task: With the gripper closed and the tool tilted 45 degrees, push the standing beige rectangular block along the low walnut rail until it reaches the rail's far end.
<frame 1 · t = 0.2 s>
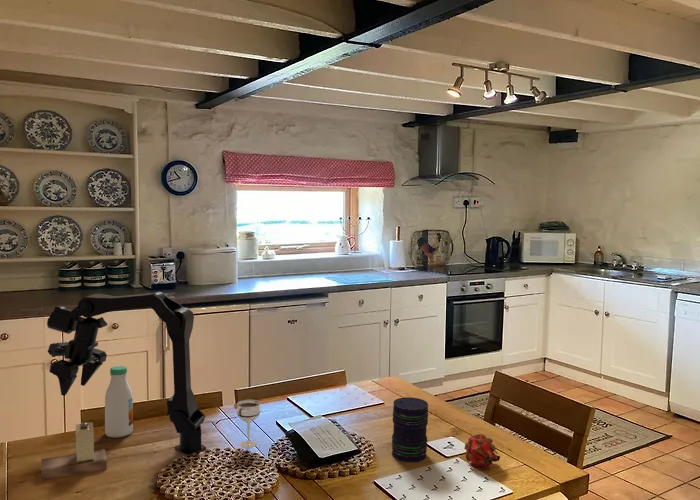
hand: (73, 390, 164), 15 cm above the table, tool pointing down, fingers open, 9 cm apart
beige rectangular block: (84, 440, 150), point 7 cm above the table, slide at 0.0 cm
milk bottle: (119, 433, 172), on the table
wineglass: (248, 444, 167), on the table
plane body: (74, 468, 149), on the table
dark blue cylinder: (408, 455, 162), on the table
dragon fruit: (480, 465, 157), on the table
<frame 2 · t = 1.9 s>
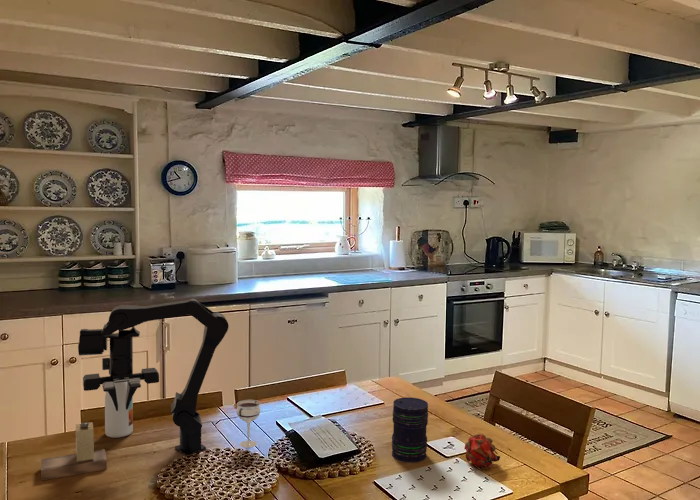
hand: (121, 409, 156), 13 cm above the table, tool pointing down, fingers closed
nothing on the table moved.
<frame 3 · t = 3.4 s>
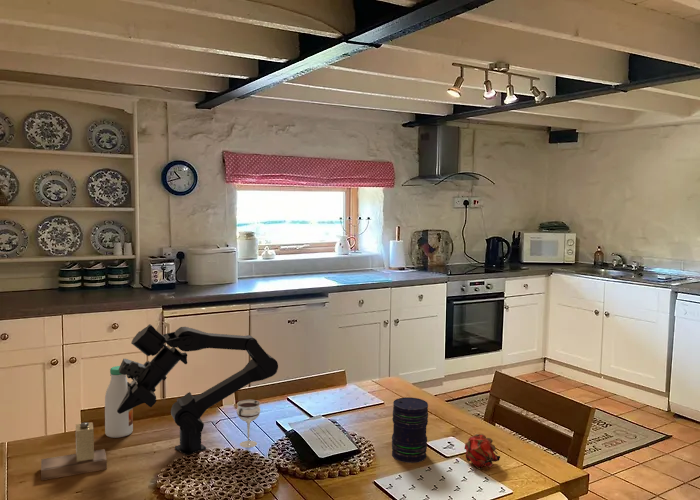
hand: (118, 412, 153), 13 cm above the table, tool tilted 45°, fingers closed
nothing on the table moved.
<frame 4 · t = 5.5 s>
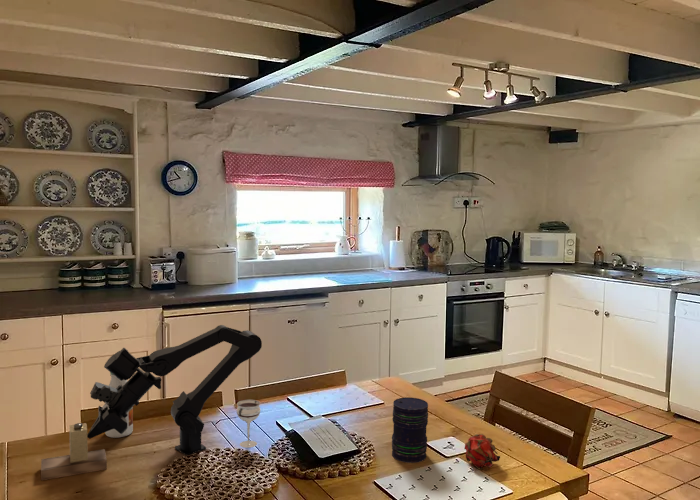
hand: (88, 437, 150), 8 cm above the table, tool tilted 45°, fingers closed, pressing on beige rectangular block
beige rectangular block: (78, 441, 149), point 7 cm above the table, slide at 1.5 cm, touching gripper
everything else where it was.
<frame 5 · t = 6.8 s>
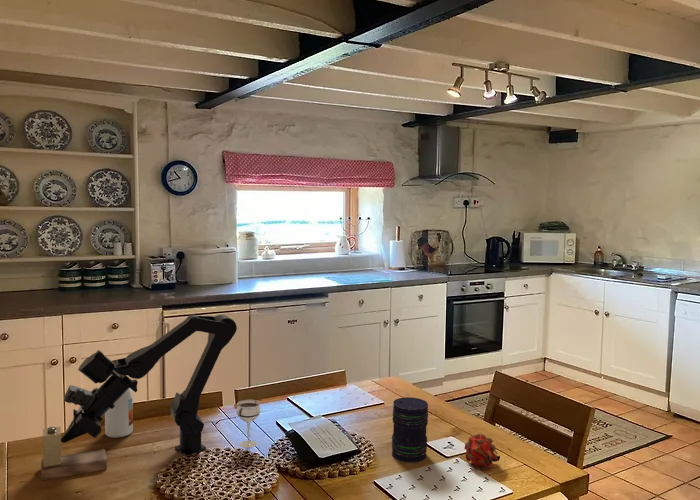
hand: (62, 441, 147), 8 cm above the table, tool tilted 45°, fingers closed, pressing on beige rectangular block
beige rectangular block: (52, 445, 146), point 7 cm above the table, slide at 7.5 cm, touching gripper
everything else where it was.
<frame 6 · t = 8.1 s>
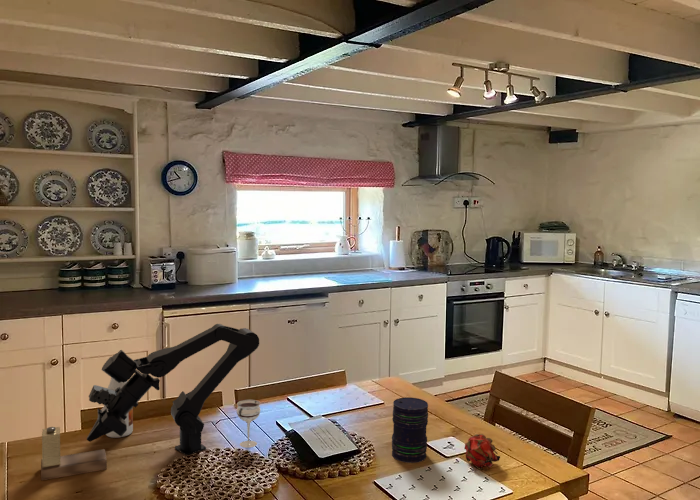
hand: (88, 440, 150), 7 cm above the table, tool tilted 45°, fingers closed
beige rectangular block: (51, 445, 146), point 7 cm above the table, slide at 7.7 cm
everything else where it was.
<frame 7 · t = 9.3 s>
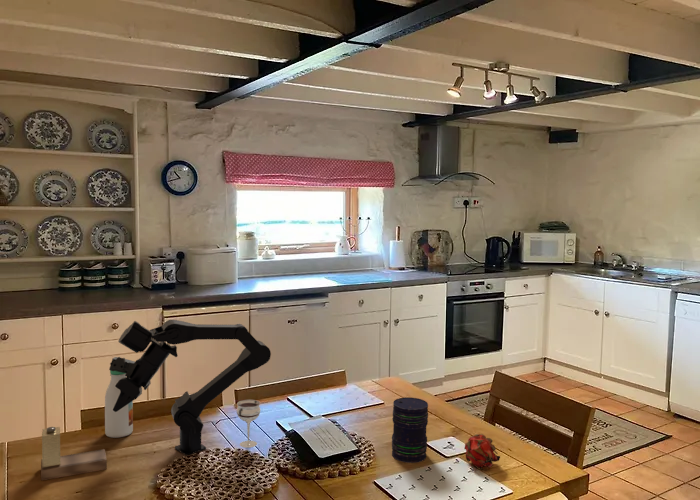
hand: (114, 410, 154), 13 cm above the table, tool tilted 35°, fingers closed
nothing on the table moved.
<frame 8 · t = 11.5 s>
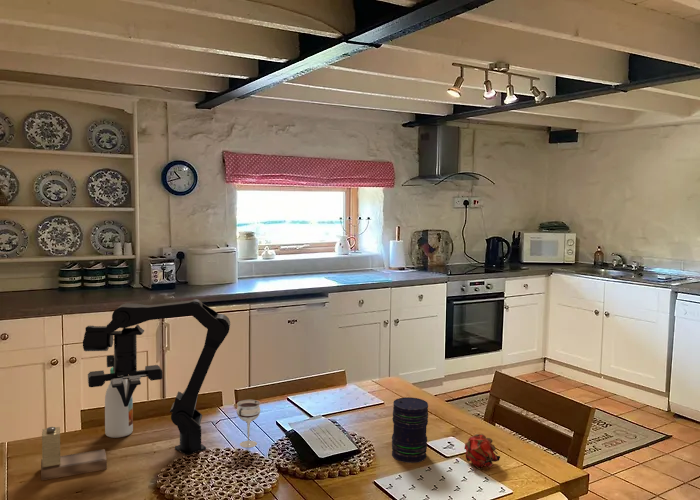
hand: (125, 406, 159), 13 cm above the table, tool pointing down, fingers closed
nothing on the table moved.
at the end: beige rectangular block slide at 7.7 cm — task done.
